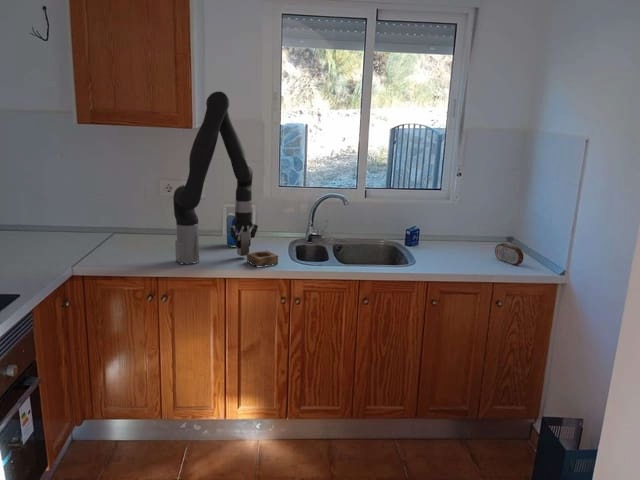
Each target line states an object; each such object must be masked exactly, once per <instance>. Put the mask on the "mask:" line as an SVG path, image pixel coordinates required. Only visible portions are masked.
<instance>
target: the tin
mask: <svg viewBox="0 0 640 480" xmlns="http://www.w3.org/2000/svg"><path fill="white" fill-rule="evenodd" d="M494 254H495V256H496V258H497V260H498V261H500V262H504V263H505V264H510V265H512V266H517V265H520V264H522V263H523V261H524V253H523V250H522V249H521V248H519V247H518V246H515V245H512V244H508V243H505V242H502V243H499V244H497V245H496V246H495V249H494Z"/></svg>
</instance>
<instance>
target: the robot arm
mask: <svg viewBox="0 0 640 480" xmlns="http://www.w3.org/2000/svg"><path fill="white" fill-rule="evenodd" d="M205 105H206V109H205V112H204V113H205V114H204V118H203V121H202V123H201V126H200V127H199V129H198V130H197V134H196V135H195V138H194V141H193V144H192V146H191V149H190V153H189V161H188V162H189V171H188V175H187V180H186V183H185V185H180V186H179V187H177V188H175V190H174V193H173V215H174V217H175V221H176V222H175V223H176V224H175V225H176V226H175V227H176V239H175V261H176V260H177V261H179V262H180V263H193V262H197V261H199V262H200V249H199V248H200V244H199V243H200V242H199V240H200V239H199V235H200V234H199V217H198V215H197V213H196V211H195V208H197V207H198V206H199V204H200V202H201V198H202V195H203V189H204V185H205V181H206V178H207V174H208V170H209V168H210V165H211V163H212V159H213V157H214V153H215V150H216V146H217V142H218V138H219V134H220V136H221V138H222V139H221V140H222V142H223V144H224V147H225V149H226V150H225V151H226V152H227V155H228V158H229V160H230V163H231V167H232V171H233V174H234V177H235V179H236V189H235V203H234V213H235V224H234V226H232V227H231V226H229V231H230V234H231V237H232V238H233V239H235V240H236V247H237V248H238V249H239V248H240V236H241V232H243V231H249V247H251V241H252V239H254V238H255V237H256V233H257V230H258V227H259V225H258V224H255V223H253V222H252V220H253V203H252V197H253V195H252V192H253V191H252V187H253V173H254V172H253V169H252V167H251V166H249V165H248V163H247V160H246V152H245V149H244V148H243V144H242V142H241V139H240V138H239V136H238V134H237V132H236V130H235V128H234V125H233V123H232V120H231V118H230V114H229V108H230V99H229V97H228V95H227V94H226V93H225V92H222V91H214V92H212V93H210V95H208V96H207V98H206V101H205ZM235 228H236V229H237V232H236V235H235V232H234V231H235ZM238 232H239V233H238ZM237 248H236V249H237ZM177 261H176V262H177Z"/></svg>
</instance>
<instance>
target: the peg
mask: <svg viewBox="0 0 640 480" xmlns="http://www.w3.org/2000/svg"><path fill="white" fill-rule="evenodd" d="M238 233H239V232H238ZM247 253H250V246H249V231H243V232H241V236H240V248H239V249H238V248H236V254H237V255H238V256H240V257H243V256H244V257H245V256H247Z"/></svg>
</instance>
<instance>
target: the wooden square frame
mask: <svg viewBox="0 0 640 480" xmlns="http://www.w3.org/2000/svg"><path fill="white" fill-rule="evenodd" d="M247 261H249V262H251V263H252V264H254V265H256V266H265V265H272V264H278V265H279V255H277V254H275V253H273V252H271V251H269V250H261V251H254V252H253V251H252V252H249V253H247V255H246V262H247ZM272 266H273V265H272Z"/></svg>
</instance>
